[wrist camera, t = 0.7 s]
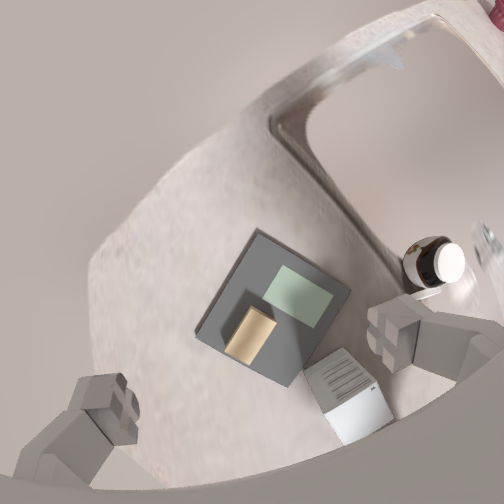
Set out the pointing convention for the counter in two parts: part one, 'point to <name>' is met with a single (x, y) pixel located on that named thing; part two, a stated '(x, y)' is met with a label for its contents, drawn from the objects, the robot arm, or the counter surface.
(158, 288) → the counter surface
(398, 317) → the robot arm
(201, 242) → the counter surface
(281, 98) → the counter surface
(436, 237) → the spread jar
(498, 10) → the plant pot
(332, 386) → the supplement box
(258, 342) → the maple card box
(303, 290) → the rubber mat
